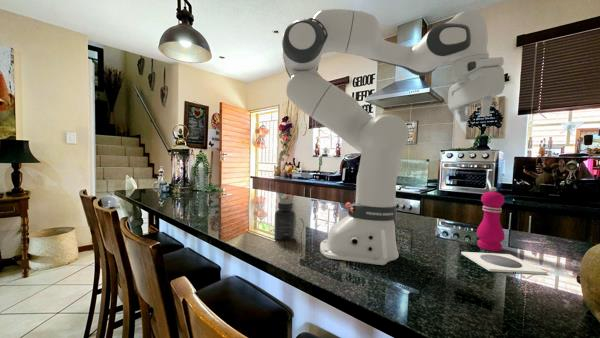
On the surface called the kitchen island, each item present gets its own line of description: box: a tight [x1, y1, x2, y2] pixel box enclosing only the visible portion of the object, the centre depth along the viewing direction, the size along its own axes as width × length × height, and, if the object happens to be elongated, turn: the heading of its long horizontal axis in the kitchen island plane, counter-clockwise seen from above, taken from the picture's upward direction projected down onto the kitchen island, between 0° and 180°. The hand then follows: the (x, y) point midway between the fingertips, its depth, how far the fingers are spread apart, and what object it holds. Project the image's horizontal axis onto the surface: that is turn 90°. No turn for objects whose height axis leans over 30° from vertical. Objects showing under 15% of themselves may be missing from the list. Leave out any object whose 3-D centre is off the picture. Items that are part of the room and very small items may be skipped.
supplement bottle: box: [273, 201, 296, 242], centre depth 84 cm, size 7×7×12 cm
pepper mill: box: [476, 186, 506, 252], centre depth 81 cm, size 7×7×20 cm
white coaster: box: [460, 251, 548, 275], centre depth 69 cm, size 14×12×1 cm
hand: (473, 119), depth 73 cm, fingers open, 8 cm apart
